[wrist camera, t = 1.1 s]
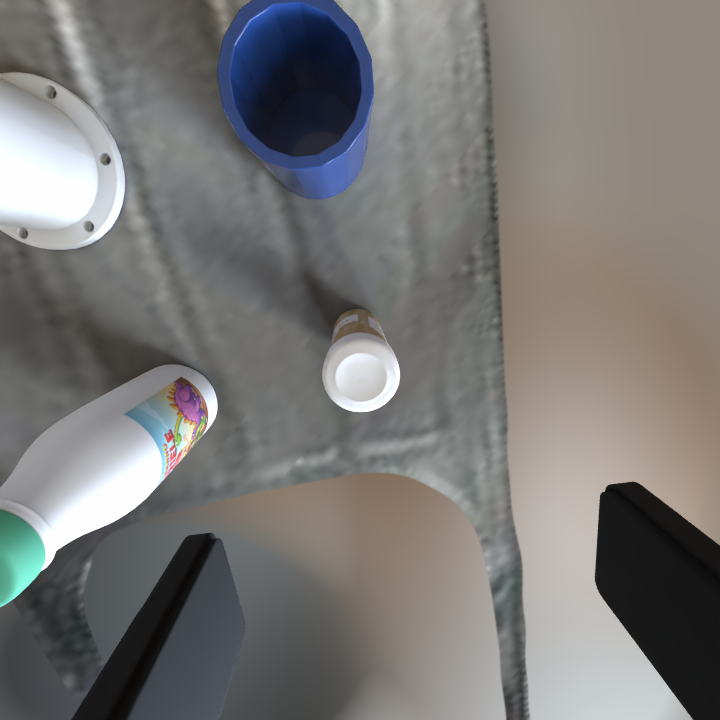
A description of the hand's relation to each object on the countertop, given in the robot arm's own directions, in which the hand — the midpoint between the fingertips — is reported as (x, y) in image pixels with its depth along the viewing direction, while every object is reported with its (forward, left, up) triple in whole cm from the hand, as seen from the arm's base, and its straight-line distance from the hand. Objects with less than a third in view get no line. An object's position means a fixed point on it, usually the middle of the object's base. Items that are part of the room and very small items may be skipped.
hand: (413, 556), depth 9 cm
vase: (-3, +17, -25) cm, 31 cm away
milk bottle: (-19, -4, -26) cm, 32 cm away
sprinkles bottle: (-1, +1, -26) cm, 26 cm away
